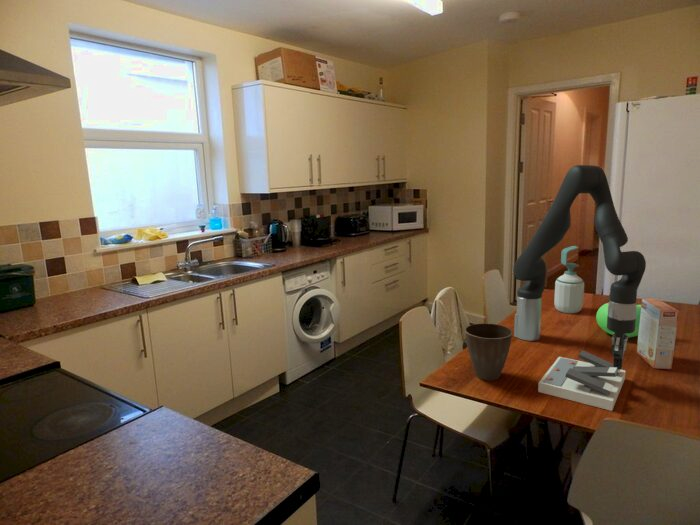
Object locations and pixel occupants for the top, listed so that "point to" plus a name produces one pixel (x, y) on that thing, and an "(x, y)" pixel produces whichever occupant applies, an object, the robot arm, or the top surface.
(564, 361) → the switch unit
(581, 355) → the block
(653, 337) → the cracker box
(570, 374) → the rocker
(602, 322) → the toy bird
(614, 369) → the rocker
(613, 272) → the robot arm
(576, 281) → the soap bottle
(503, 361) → the plant pot
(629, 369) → the top surface
